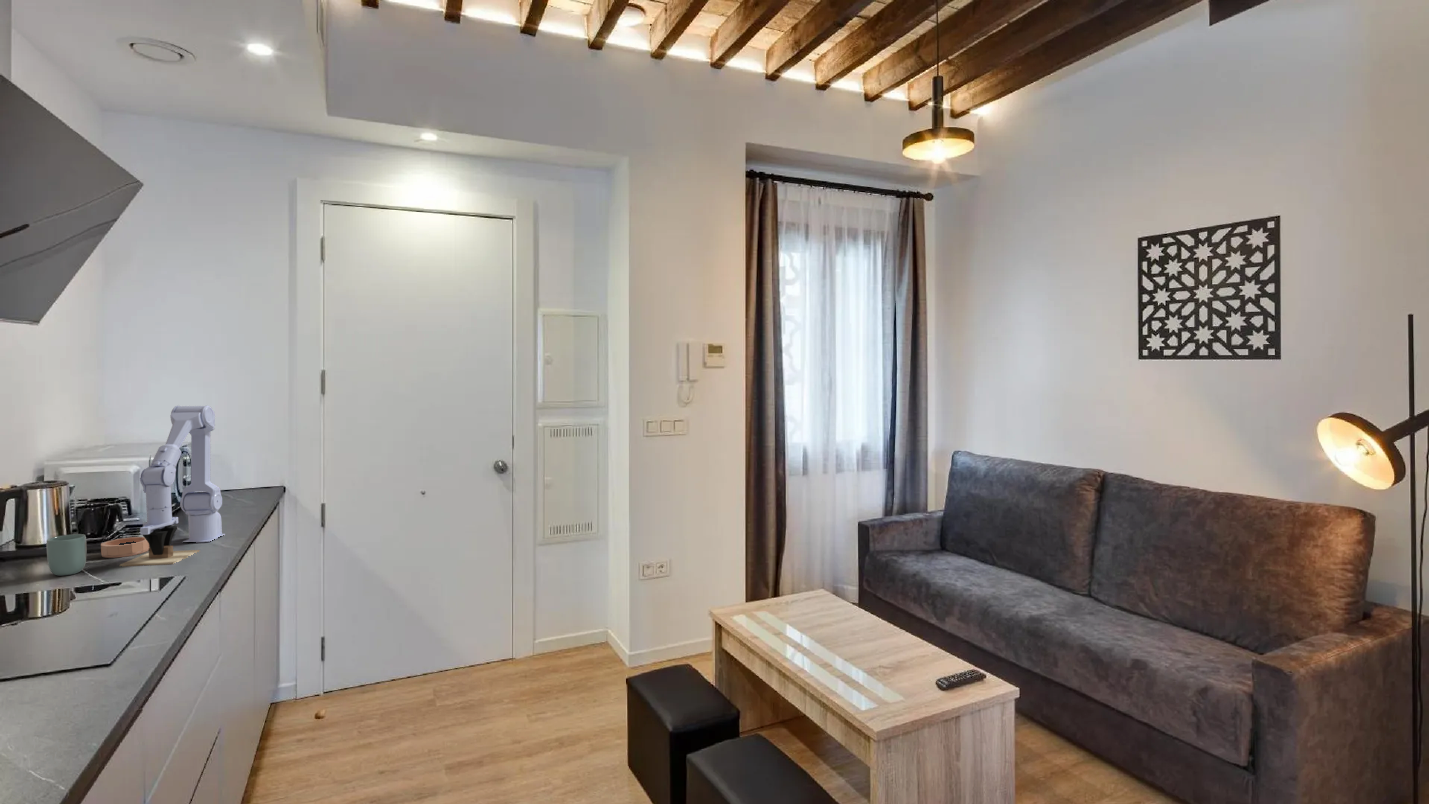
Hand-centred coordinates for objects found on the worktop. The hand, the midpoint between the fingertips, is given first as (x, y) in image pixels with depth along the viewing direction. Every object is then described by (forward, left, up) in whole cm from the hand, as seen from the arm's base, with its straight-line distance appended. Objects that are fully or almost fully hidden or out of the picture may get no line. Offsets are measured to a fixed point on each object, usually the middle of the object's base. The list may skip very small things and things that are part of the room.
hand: (161, 553), depth 202 cm
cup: (+12, -16, -2) cm, 20 cm away
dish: (-9, -14, -2) cm, 17 cm away
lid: (0, 0, -2) cm, 2 cm away
